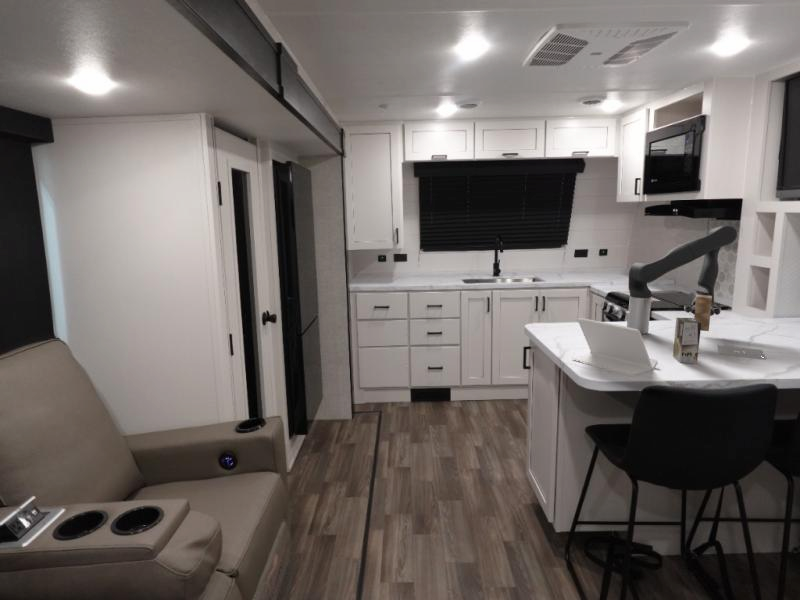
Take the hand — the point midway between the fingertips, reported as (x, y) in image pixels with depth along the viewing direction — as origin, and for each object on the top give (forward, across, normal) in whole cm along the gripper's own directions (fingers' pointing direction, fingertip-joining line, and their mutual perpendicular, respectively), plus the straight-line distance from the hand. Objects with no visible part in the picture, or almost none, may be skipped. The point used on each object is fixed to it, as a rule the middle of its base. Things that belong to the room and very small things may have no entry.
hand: (702, 312), depth 212 cm
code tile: (-2, +15, +16) cm, 22 cm away
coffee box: (+20, -5, +16) cm, 26 cm away
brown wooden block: (-3, 0, +8) cm, 8 cm away
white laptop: (+38, -29, +16) cm, 50 cm away
